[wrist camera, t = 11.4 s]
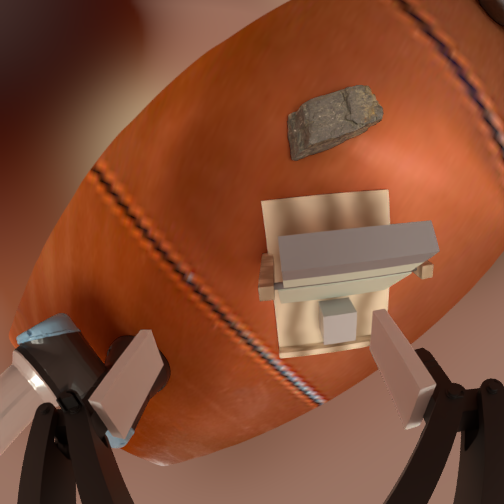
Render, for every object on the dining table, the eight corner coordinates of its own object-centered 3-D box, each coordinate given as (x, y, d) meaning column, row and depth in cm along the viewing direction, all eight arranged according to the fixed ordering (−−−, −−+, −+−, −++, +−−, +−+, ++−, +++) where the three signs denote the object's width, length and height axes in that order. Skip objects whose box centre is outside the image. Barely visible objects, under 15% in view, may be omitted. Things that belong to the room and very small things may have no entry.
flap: (279, 283, 47) (281, 303, 46) (269, 237, 27) (272, 272, 25) (381, 270, 45) (384, 289, 44) (436, 219, 25) (445, 250, 24)
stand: (274, 349, 51) (273, 401, 37) (255, 201, 43) (247, 214, 30) (387, 333, 48) (414, 376, 35) (391, 189, 41) (434, 197, 27)
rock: (348, 61, 32) (397, 105, 31) (344, 82, 38) (386, 123, 37) (263, 123, 35) (312, 174, 34) (270, 139, 42) (312, 184, 41)
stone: (318, 301, 46) (319, 327, 48) (323, 316, 41) (323, 345, 42) (348, 297, 46) (348, 323, 47) (357, 312, 40) (355, 340, 42)
